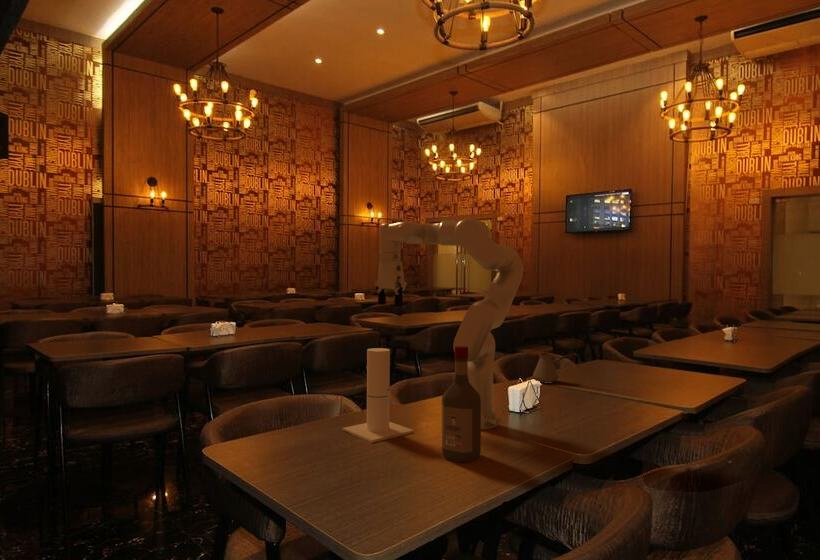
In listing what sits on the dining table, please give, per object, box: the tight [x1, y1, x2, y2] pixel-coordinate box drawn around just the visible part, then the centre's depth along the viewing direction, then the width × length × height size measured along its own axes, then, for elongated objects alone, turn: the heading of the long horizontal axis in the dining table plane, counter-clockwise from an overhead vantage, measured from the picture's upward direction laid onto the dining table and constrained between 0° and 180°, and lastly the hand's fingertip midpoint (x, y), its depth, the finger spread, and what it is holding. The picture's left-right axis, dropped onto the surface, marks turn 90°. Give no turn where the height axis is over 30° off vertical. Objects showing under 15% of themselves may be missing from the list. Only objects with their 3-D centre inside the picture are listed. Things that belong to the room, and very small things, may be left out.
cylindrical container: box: [366, 347, 391, 432], centre depth 169 cm, size 7×7×25 cm
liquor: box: [441, 346, 482, 464], centre depth 146 cm, size 9×9×30 cm
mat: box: [342, 421, 415, 444], centre depth 169 cm, size 16×16×1 cm
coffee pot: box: [532, 352, 579, 384], centre depth 242 cm, size 21×12×15 cm, turn 45°
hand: (390, 305), depth 193 cm, fingers open, 9 cm apart
